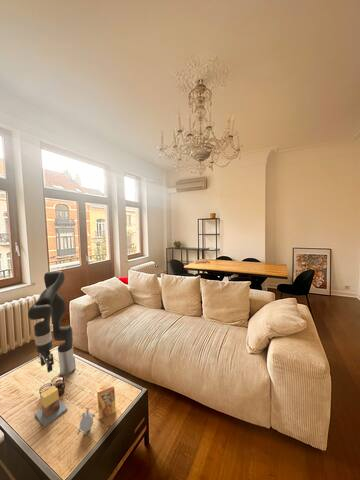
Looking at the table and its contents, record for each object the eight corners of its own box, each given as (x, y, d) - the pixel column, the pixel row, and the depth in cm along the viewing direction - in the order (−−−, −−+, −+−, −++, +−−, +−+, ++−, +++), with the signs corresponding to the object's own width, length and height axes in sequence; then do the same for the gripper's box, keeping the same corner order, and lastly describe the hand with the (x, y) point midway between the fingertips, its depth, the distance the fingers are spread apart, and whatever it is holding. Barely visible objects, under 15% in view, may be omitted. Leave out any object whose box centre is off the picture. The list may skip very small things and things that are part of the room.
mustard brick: (54, 394, 119) (53, 385, 118) (58, 398, 116) (57, 389, 115) (41, 403, 113) (40, 393, 112) (45, 408, 110) (44, 398, 109)
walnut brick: (55, 403, 119) (54, 394, 119) (59, 408, 116) (58, 398, 116) (42, 413, 114) (41, 403, 113) (46, 418, 111) (45, 408, 110)
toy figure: (91, 419, 110) (89, 399, 109) (99, 424, 108) (97, 404, 106) (73, 439, 101) (71, 417, 99) (82, 444, 98) (80, 422, 97)
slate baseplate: (57, 399, 123) (57, 397, 123) (67, 409, 116) (67, 408, 116) (35, 415, 114) (35, 413, 114) (44, 427, 107) (43, 425, 107)
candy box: (115, 406, 118) (113, 382, 116) (116, 412, 114) (114, 388, 112) (98, 413, 114) (96, 388, 112) (99, 420, 110) (97, 394, 108)
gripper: (57, 341, 109) (59, 369, 111) (45, 333, 117) (48, 359, 119) (41, 349, 103) (44, 378, 105) (30, 339, 111) (33, 366, 113)
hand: (46, 368), depth 112 cm, fingers open, 8 cm apart
